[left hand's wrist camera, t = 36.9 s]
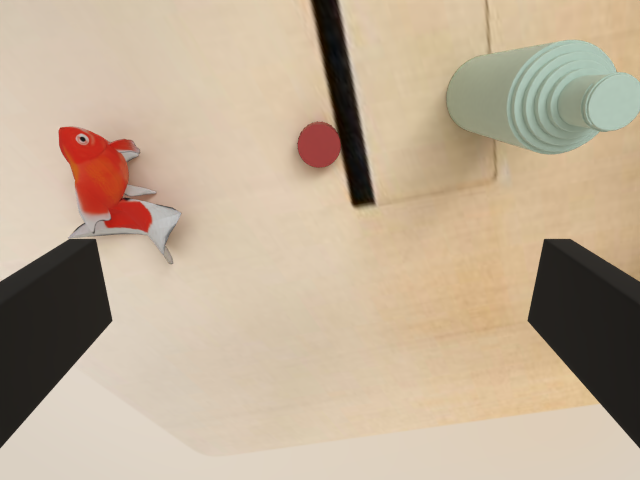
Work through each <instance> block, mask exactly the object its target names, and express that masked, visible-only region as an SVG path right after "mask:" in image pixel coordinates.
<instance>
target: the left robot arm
mask: <svg viewBox="0 0 640 480" xmlns="http://www.w3.org/2000/svg"><path fill="white" fill-rule="evenodd" d="M111 322H112V316H111V311H110V306H109V301H108V296H107V291H106V287H105V282H104V277H103V272H102V267H101V262H100V257H99V252H98V247H97V242H96V239H69V240H67V241H66V242H64V243H62V244H61V245H59V246H58V247H56V248H54V249H53V250H51V251H49V252H48V253H46V254H45V255H43V256H41V257H40V258H38V259H36V260H35V261H33V262H32V263H30V264H28V265H27V266H25V267H23V268H22V269H20V270H19V271H17V272H15V273H14V274H12V275H10V276H9V277H7V278H6V279H4V280H2V281H1V282H0V448H1V447H2V446H3V445H4V443H5V442H6V441H7V440H8V439H9V438H10V437H11V435H12V434H13V433H14V432H15V431H16V430H17V429H18V428H19V426H20V425H21V424H22V423H23V422H24V421H25V420H26V418H27V417H28V416H29V415H30V414H31V413H32V412H33V410H34V409H35V408H36V407H37V406H38V405H39V404H40V402H41V401H42V400H43V399H44V398H45V397H46V396H47V395H48V393H49V392H50V391H51V390H52V389H53V388H54V387H55V385H56V384H57V383H58V382H59V381H60V380H61V379H62V378H63V376H64V375H65V374H66V373H67V372H68V371H69V370H70V368H71V367H72V366H73V365H74V364H75V363H76V362H77V360H78V359H79V358H80V357H81V356H82V355H83V354H84V353H85V351H86V350H87V349H88V348H89V347H90V346H91V345H92V343H93V342H94V341H95V340H96V339H97V338H98V337H99V335H100V334H101V333H102V332H103V331H104V330H105V329H106V327H107V326H108V325H109V324H110V323H111ZM528 322H529V323H530V324H531V325H532V326H533V327H534V329H535V330H536V331H537V332H538V333H539V334H540V335H541V337H542V338H543V339H544V340H545V341H546V342H547V343H548V345H549V346H550V347H551V348H552V349H553V350H554V351H555V353H556V354H557V355H558V356H559V357H560V358H561V359H562V360H563V362H564V363H565V364H566V365H567V366H568V367H569V368H570V370H571V371H572V372H573V373H574V374H575V375H576V376H577V378H578V379H579V380H580V381H581V382H582V383H583V384H584V385H585V387H586V388H587V389H588V390H589V391H590V392H591V393H592V395H593V396H594V397H595V398H596V399H597V400H598V401H599V403H600V404H601V405H602V406H603V407H604V408H605V409H606V410H607V412H608V413H609V414H610V415H611V416H612V417H613V418H614V420H615V421H616V422H617V423H618V424H619V425H620V426H621V428H622V429H623V430H624V431H625V432H626V433H627V434H628V436H629V437H630V438H631V439H632V440H633V441H634V442H635V443H636V444H637V446H638V447H639V448H640V282H639V281H638V280H636V279H634V278H633V277H631V276H630V275H628V274H626V273H625V272H623V271H621V270H620V269H618V268H617V267H615V266H613V265H612V264H610V263H608V262H607V261H605V260H604V259H602V258H600V257H599V256H597V255H595V254H594V253H592V252H591V251H589V250H587V249H586V248H584V247H582V246H581V245H579V244H578V243H576V242H574V241H573V240H571V239H544V242H543V247H542V252H541V257H540V262H539V267H538V272H537V277H536V282H535V287H534V291H533V296H532V301H531V306H530V311H529V316H528Z"/></svg>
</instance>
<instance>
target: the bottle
mask: <svg viewBox="0 0 640 480" xmlns="http://www.w3.org/2000/svg"><path fill="white" fill-rule="evenodd" d="M446 101H447V108H448V111H449V114H450V116H451V118H452V119H453V121H454V122H455V123H456V124H457V125H458V126H459V127H461V128H463V129H465V130H467V131H470V132H473V133H476V134H479V135H483V136H486V137H489V138H492V139H495V140H499V141H502V142H505V143H508V144H512V145H515V146H518V147H521V148H524V149H528V150H531V151H534V152H538V153H541V154H560V153H564V152H568V151H571V150H573V149H576V148H577V147H579V146H581V145H583V144H585V143H586V142H588V141H589V140H591V139H592V138H593V137H594V136H596V135H597V134H598V133H599V132H600V131H601V132H607V131H613V130H618V129H620V128H622V127H624V126H626V125H628V124H629V123H630V122H631V121H632V120H633V119H634V118H635V117H636V116H637V114H638V113H639V111H640V82H639V81H638V80H637V79H636V78H634V77H633V76H632V75H630V74H627V73H620V72H617V71H616V68H615V66H614V64H613V63H612V61H611V60H610V58H609V57H608V56H607V55H606V54H605V53H604V52H603V51H602V50H601V49H599V48H598V47H597V46H595V45H593V44H591V43H588V42H585V41H580V40H565V41H559V42H554V43H548V44H543V45H537V46H532V47H526V48H521V49H515V50H509V51H504V52H498V53H493V54H487V55H482V56H478V57H475V58H473V59H471V60H469V61H467V62H466V63H464V64H463V65H462V66H461V67H460V68H459V69H458V70H457V71H456V73H455V74H454V75H453V77H452V79H451V81H450V83H449V86H448V90H447V97H446Z"/></svg>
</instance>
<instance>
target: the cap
mask: <svg viewBox="0 0 640 480" xmlns="http://www.w3.org/2000/svg"><path fill="white" fill-rule="evenodd" d="M298 139H299V140H298V143H297V144H298V151H299V154H300V156H301V158H302V159H303V161H304V162H306V163H307V164H308V165H310V166H313V167H318V168H320V167H326V166H328V165H330V164H332V163H333V162H334V161H335V160H336V158H337V157H338V155H339V152H340V145H341V143H340V138H339V136H338V133H337V132H336V130H335V128H333V127H332V126H330V125H329V124H327V123H324V122H318V121H317V122H314V123H311V124H309V125H308V126H307V127H305V128H304V129H303V131H301V134H300V136H299V138H298Z"/></svg>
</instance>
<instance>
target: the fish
mask: <svg viewBox="0 0 640 480" xmlns="http://www.w3.org/2000/svg"><path fill="white" fill-rule="evenodd" d="M59 146H60V149H61V152H62V154H63V155H64V157H65V158H66V160H67V161H68V162H69V164H70V166H71V169H72V172H73V176H74V179H75V190H76V198H77V204H78V209H79V213H80V215H81V217H82V219H83V220H84V222H85V223H84V224H82V225H81V226H79V227H78V228H77V229H76V230H75V231H74V232H73V233H72V234H71V235H70V236H69V237H68V238H78V237H89V236H102V235H114V234H141V235H147V236H149V237H150V239H151V240H152V241H153V242H154V243H155V245H156V246H157V247H158V249H159V250H160V252H161V253H162V254H163V256H164V257H165V258H166V260H167V261H168V263H169V264H173V259H172V256H171V254H170V252H169V251H168V249H167V247H166V246H165V245H166V242H167V240H168V237H169V234H170V233H171V231H172V230H173V228H174V227H175V225H176V223H177V221H178V219H179V217H180V215H181V212H179V211H177V210H176V209H174V208H171V207H167V206H162V205H157V204H153V203H149V202H145V201H140V200H135V199H130V198H123V195H124V194H125V195H127V196H139V195H145V194H155V193H156V191H152V190H149V189H146V188H142V187H137V186H132V185H129V184H128V179H129V172H128V166H127V162H128V161H130V160H131V159H133V158H135V157H137V156H138V153H140V149H139V148H138V147H137V146H136V145H135V144H134V142H133V141H132V140H126V139H121V140H116V141H114V142H111V143H110V142H109V141H107V140H106V139H104V138H103V137H101V136H99V135H97V134H95V133H93V132H91V131H88V130H85V129H83V128H79V127H61V128H60V130H59ZM122 198H123V199H122Z"/></svg>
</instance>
